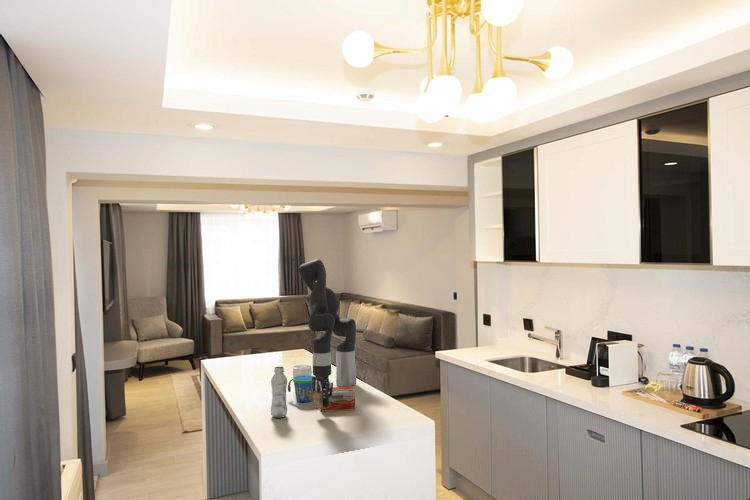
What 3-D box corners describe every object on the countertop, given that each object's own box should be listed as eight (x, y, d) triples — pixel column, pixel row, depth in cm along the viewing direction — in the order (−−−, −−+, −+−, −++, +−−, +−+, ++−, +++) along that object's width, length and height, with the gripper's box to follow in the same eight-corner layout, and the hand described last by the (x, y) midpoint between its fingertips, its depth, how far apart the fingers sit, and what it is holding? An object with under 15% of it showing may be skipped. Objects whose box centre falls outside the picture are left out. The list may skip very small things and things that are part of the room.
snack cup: (325, 398, 232) (325, 376, 233) (316, 405, 222) (316, 381, 222) (294, 395, 237) (294, 373, 237) (283, 402, 227) (283, 379, 227)
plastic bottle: (271, 414, 210) (271, 365, 210) (288, 414, 210) (288, 365, 210) (269, 419, 203) (269, 369, 203) (286, 419, 204) (286, 369, 204)
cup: (308, 395, 238) (308, 369, 238) (289, 394, 240) (289, 368, 240) (314, 390, 247) (314, 365, 247) (296, 389, 249) (296, 364, 249)
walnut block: (324, 403, 210) (324, 389, 210) (330, 407, 206) (330, 392, 206) (314, 406, 207) (313, 391, 207) (319, 409, 203) (319, 394, 203)
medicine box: (319, 411, 214) (319, 392, 214) (318, 406, 222) (318, 387, 222) (355, 409, 216) (355, 391, 216) (353, 404, 224) (353, 386, 224)
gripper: (339, 365, 203) (339, 407, 203) (321, 358, 214) (322, 399, 215) (322, 367, 198) (322, 411, 199) (305, 361, 210) (306, 402, 210)
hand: (322, 404), depth 207 cm, fingers closed on walnut block, 5 cm apart
